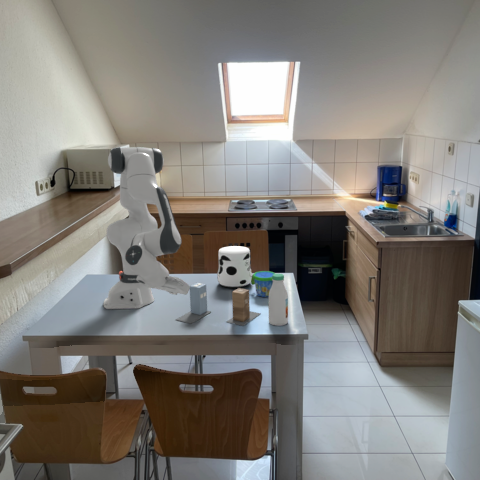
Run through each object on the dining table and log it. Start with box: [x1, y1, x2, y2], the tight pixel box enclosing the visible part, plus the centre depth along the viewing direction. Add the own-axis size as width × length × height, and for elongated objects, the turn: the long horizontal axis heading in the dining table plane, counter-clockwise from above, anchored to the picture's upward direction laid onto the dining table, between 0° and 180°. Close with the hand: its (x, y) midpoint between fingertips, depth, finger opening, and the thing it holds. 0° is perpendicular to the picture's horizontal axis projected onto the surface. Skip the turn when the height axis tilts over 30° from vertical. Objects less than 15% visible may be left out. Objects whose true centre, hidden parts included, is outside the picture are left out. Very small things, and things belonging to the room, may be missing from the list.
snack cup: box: [250, 270, 276, 298], centre depth 220 cm, size 16×10×10 cm
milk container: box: [216, 245, 253, 289], centre depth 234 cm, size 17×17×18 cm
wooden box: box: [231, 287, 251, 322], centre depth 192 cm, size 5×5×12 cm
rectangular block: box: [189, 282, 208, 315], centre depth 200 cm, size 5×5×12 cm
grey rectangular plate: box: [225, 310, 261, 327], centre depth 195 cm, size 14×8×1 cm, turn 148°
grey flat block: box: [175, 310, 212, 325], centre depth 198 cm, size 14×8×1 cm, turn 148°
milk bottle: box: [268, 273, 289, 327], centre depth 188 cm, size 8×8×20 cm
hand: (174, 292), depth 186 cm, fingers closed
